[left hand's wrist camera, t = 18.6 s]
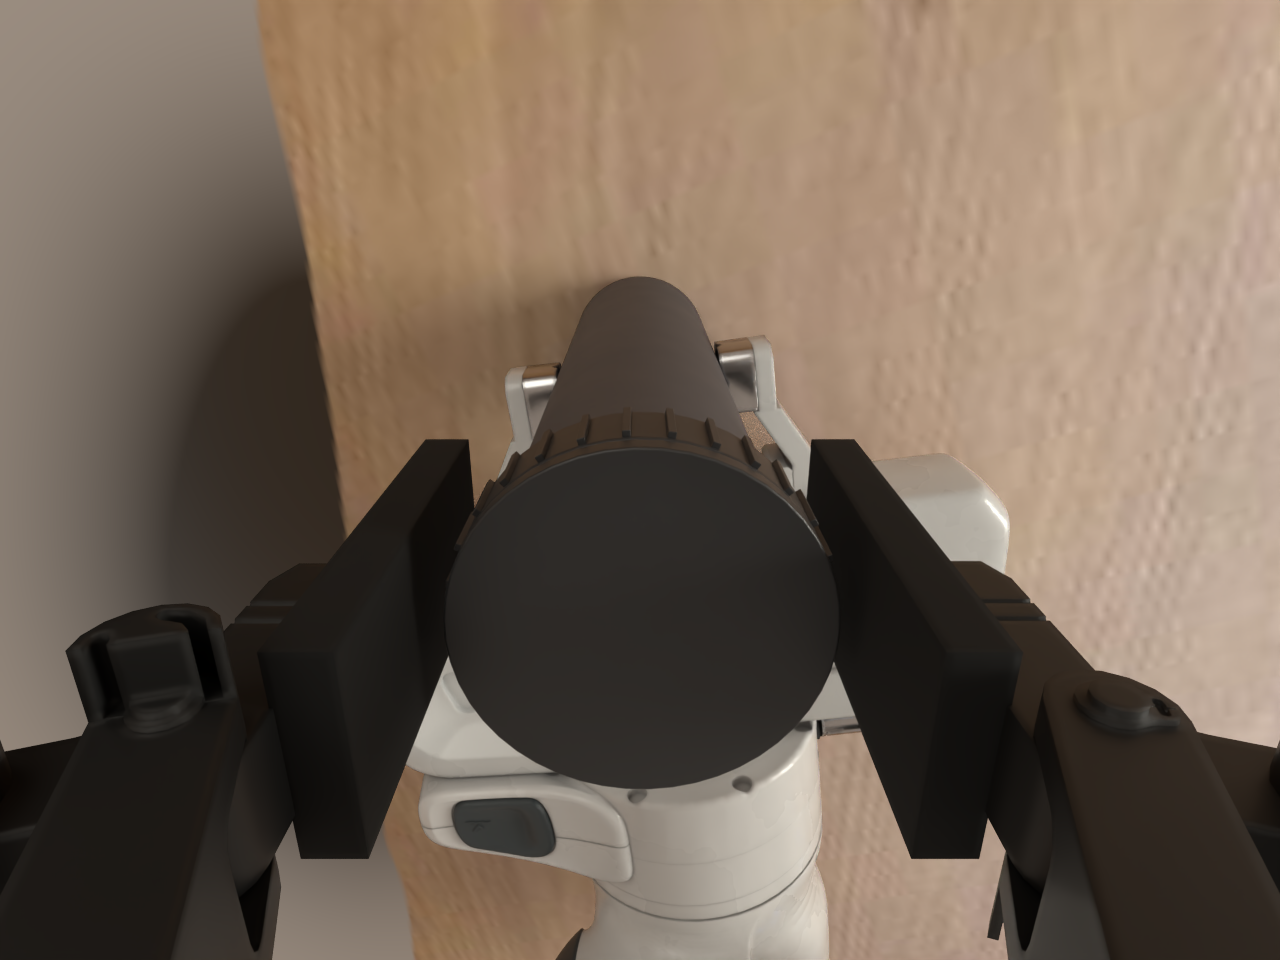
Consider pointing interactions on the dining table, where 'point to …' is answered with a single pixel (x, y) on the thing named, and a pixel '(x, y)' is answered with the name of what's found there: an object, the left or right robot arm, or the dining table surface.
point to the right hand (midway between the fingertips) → (635, 355)
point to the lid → (642, 602)
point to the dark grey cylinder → (640, 361)
